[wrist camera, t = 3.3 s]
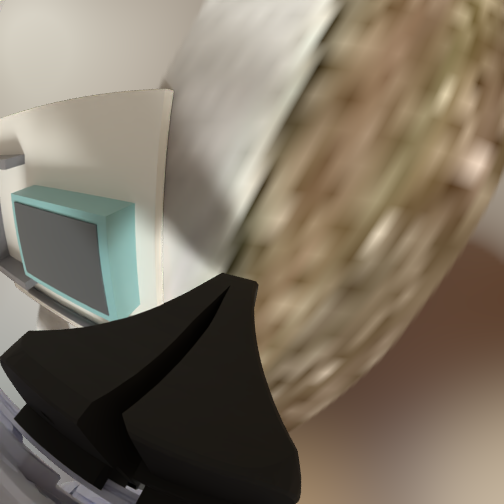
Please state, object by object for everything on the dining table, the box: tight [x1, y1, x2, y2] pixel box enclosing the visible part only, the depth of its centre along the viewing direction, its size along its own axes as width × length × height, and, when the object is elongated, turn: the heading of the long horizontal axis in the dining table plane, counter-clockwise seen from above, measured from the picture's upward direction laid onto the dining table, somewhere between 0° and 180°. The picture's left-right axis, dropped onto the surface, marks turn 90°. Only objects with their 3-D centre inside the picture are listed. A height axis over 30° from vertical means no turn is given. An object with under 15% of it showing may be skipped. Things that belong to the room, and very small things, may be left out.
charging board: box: [0, 89, 174, 328], centre depth 12 cm, size 16×14×2 cm
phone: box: [11, 185, 140, 321], centre depth 11 cm, size 8×5×2 cm, turn 83°
